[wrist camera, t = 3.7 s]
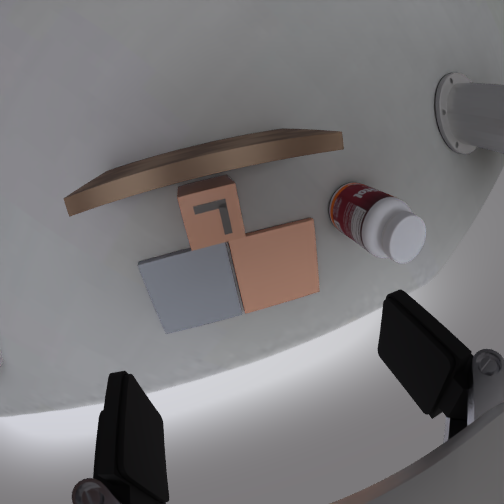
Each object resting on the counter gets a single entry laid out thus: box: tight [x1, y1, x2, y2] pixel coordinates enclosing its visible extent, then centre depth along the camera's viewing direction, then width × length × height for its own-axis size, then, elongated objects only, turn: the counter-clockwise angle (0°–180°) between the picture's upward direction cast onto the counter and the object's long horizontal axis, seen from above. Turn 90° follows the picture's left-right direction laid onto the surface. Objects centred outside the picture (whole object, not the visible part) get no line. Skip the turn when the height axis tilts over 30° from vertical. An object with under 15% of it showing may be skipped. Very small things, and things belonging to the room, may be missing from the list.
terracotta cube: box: [177, 175, 246, 251], centre depth 27 cm, size 5×5×5 cm
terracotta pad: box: [228, 218, 319, 313], centre depth 34 cm, size 10×10×1 cm
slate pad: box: [138, 242, 242, 334], centre depth 33 cm, size 10×10×1 cm
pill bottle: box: [329, 182, 426, 264], centre depth 29 cm, size 6×6×11 cm
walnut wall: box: [64, 129, 344, 217], centre depth 22 cm, size 18×1×12 cm, turn 101°
